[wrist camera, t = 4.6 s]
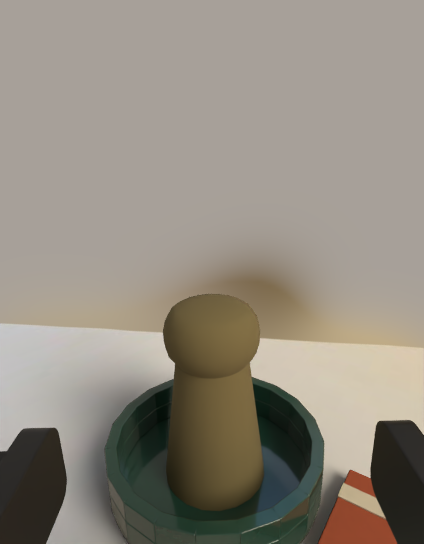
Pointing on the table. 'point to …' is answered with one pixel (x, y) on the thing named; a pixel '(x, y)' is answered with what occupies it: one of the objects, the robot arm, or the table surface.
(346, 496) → the towel
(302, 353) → the table surface
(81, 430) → the table surface
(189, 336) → the cork
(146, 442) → the dish
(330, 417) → the table surface
